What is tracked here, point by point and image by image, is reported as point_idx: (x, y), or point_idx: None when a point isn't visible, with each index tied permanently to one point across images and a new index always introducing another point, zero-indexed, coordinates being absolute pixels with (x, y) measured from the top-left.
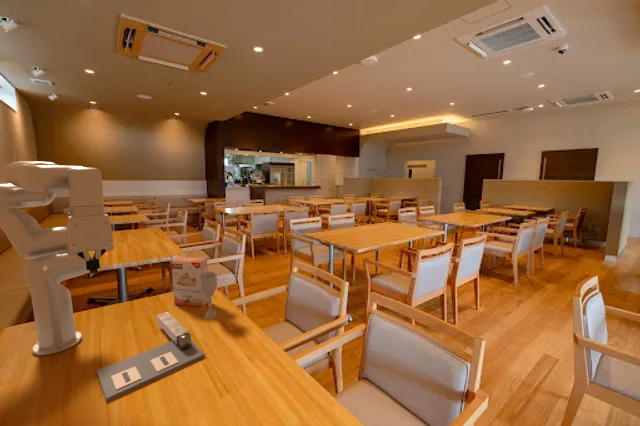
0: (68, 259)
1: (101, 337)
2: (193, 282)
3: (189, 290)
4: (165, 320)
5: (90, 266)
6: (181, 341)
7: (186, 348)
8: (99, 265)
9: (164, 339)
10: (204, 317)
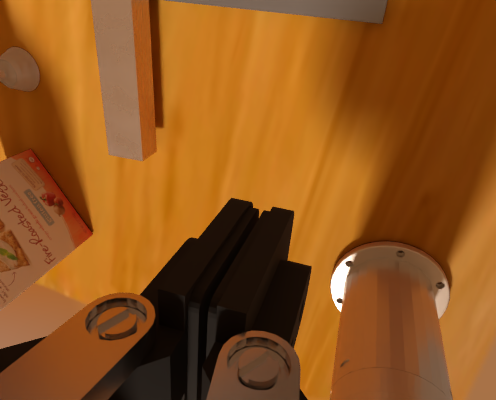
0: None
1: (297, 226)
2: None
3: (14, 210)
4: (128, 96)
5: (273, 253)
6: None
7: None
8: (180, 251)
9: (168, 50)
10: (38, 78)
